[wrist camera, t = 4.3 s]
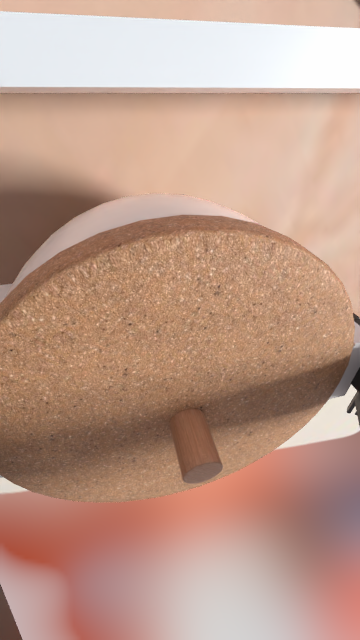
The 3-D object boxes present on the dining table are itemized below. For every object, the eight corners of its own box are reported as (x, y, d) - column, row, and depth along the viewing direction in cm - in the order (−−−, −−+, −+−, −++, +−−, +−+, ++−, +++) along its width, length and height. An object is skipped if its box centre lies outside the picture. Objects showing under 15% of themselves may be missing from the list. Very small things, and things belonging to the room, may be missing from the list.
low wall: (-13, 93, 9) (-68, 86, 6) (-30, 42, 9) (-102, 6, 5) (497, 93, 13) (620, 88, 10) (516, 58, 12) (654, 42, 9)
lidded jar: (150, 383, 19) (189, 560, 11) (-26, 300, 12) (-190, 575, 5) (280, 269, 16) (444, 411, 8) (133, 85, 9) (278, 19, 2)
